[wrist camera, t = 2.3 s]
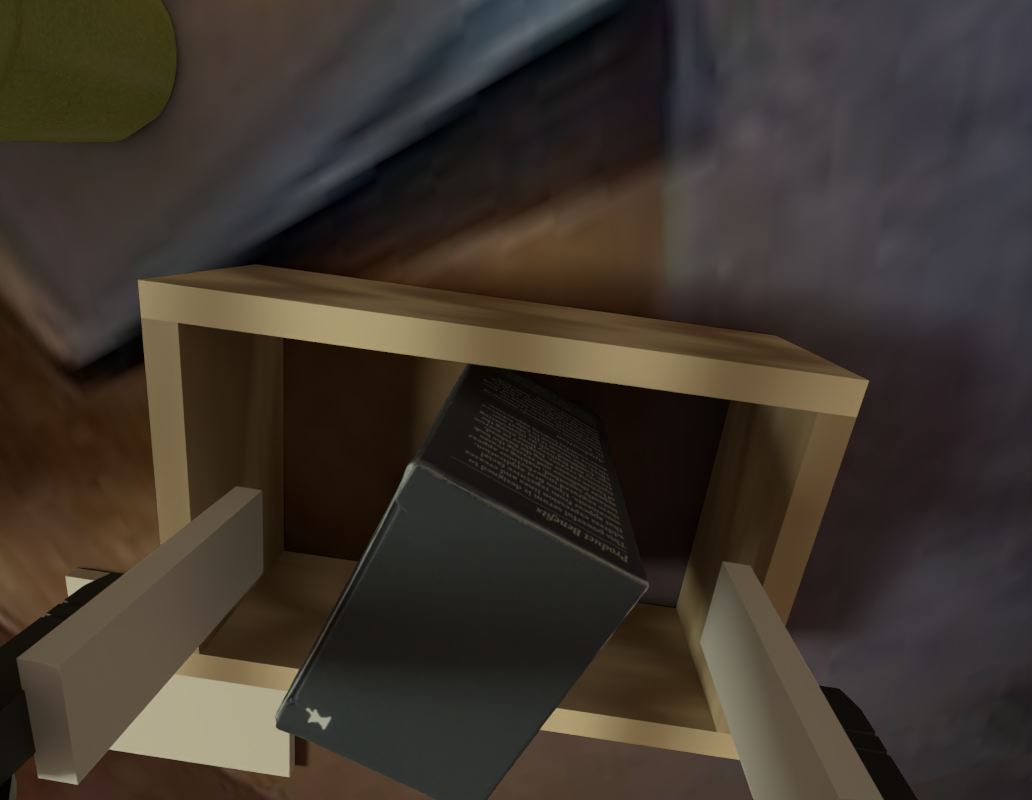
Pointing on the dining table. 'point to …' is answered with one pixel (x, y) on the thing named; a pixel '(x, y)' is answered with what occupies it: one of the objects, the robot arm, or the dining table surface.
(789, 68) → the dining table surface
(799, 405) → the crate
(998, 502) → the dining table surface
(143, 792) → the dining table surface
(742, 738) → the robot arm
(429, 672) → the box
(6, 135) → the plant pot
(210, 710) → the plate
